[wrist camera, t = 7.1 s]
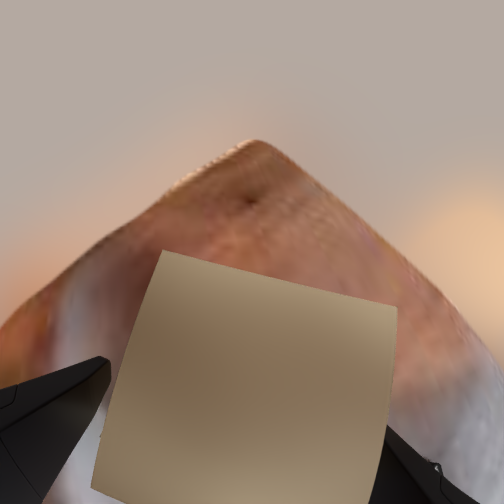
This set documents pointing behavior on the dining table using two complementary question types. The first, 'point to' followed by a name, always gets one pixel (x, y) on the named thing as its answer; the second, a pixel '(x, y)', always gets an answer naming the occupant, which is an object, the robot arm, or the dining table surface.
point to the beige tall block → (247, 392)
